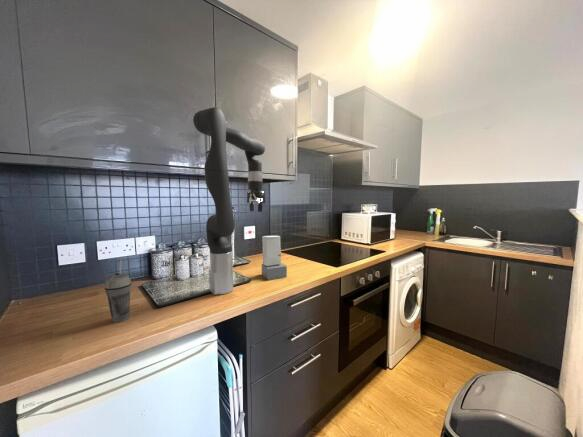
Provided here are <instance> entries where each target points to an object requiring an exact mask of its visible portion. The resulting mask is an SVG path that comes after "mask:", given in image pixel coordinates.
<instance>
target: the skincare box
mask: <svg viewBox="0 0 583 437" xmlns="http://www.w3.org/2000/svg"><path fill="white" fill-rule="evenodd" d="M261 238H262V264H264V265H265V266H272V265H278V264H281V263H282V254H281V252H282V251H281V250H282V248H281V235H264V236H262V237H261Z"/></svg>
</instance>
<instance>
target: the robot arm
mask: <svg viewBox="0 0 583 437" xmlns="http://www.w3.org/2000/svg"><path fill="white" fill-rule="evenodd" d="M192 120H193V126H194V128H195V129H196V130H197V131H198V132H199V133H201V134H202V135H205V136H209V137H210V148H209V149H208V150H209V151H208V153H207V156H206V160H205V163H204V181H205V184H206V187H207V190H208V192H209V194H210V195H211V198H212V200H213V204H214V207H215V214H212V215H210V216H209V217H208V219H207V220H206V224H205V228H206V230H205V231H206V242H207V246H208V249H209V264H210V266H209V269H208V281H209V284H208V285H209V292H210V291H211V292H210V293H212V294H213V295H214V296H216V295H225V294H228V293H229V294H230V293H232V292H233V291H234V269H233V268H234V266H233V265H234V264H233V263H234V262H233V245H232V243H231V242H229V239H228V238H227V237H230V236H231V235H233V233H234V231H235V228H236V222H235V221H236V220H235V216H234V210H233V205H232V198H231V192H230V191H231V190H230V181H229V179H230V178H229V169H228V158H227V143H228V144H231V145H233V146H234V147H236V148H238V149H240V150H241V151H244V153H245V158H246V161H247V166H248V167H247V170H248V171H247V173H248V174H247V189H248V190H249V191H248V192H247V193H246V203H247V204H249V211H250V212H254V211H255V209H254V208H255V206H254V205H255V202H257V212H260V213H261V212H263V204H265V203H266V194H265V191H264V190H263V171H262V170H263V169H262V168H263V166H262V164H263V163H262V161H261V160H259V159H258V160H257V159H256V158H255V157H258V156H262V155H264V153H265V151H266V148H265V144H264V143H263V142H262V141H261V140H259V139H256V138H254V137H251V136H250V137H249V136H248V135H247V134H245V133H243V132H241V131H240V130H237V129H235V128H234V129H233V128H230V127H227V124H226V118H225V114H224V113H223V111H222V110H221V109H220V108H219V107H213V106H212V107H208V108H205V109H202V110H199V111H197V112H195V113H194V115H193V118H192ZM262 190H263V191H262Z"/></svg>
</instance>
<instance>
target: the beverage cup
mask: <svg viewBox="0 0 583 437" xmlns="http://www.w3.org/2000/svg"><path fill="white" fill-rule="evenodd" d="M122 263H123V259H120V260H119V271H118V272H117V273H114V274H112V275H110V276H109V277H108V278H107V279H106V281H105V284H104V290H105V294H106V296H107V301H108V306H109V313H110V317H111V320H112V322H113V323H122V322H124V321H127V320H129V318H130V304H131V289H132V281H131V278H130V277H129V275H128V274H126V273H123V272H122V265H123V264H122Z"/></svg>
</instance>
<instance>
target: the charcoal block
mask: <svg viewBox="0 0 583 437" xmlns="http://www.w3.org/2000/svg"><path fill="white" fill-rule="evenodd" d="M287 268H288V267H287V265H285V264H284V263H282V262H281V264H278V265H272V266H265V265H264V264H263V263H261V275H262V276H263V277H264V278H265V279H266V280H267V281H271V280H278V279H283V278H287V276H288V274H287V273H288V272H287V271H288V269H287Z"/></svg>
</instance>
